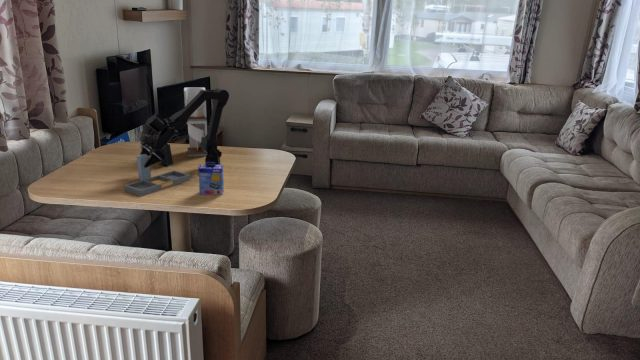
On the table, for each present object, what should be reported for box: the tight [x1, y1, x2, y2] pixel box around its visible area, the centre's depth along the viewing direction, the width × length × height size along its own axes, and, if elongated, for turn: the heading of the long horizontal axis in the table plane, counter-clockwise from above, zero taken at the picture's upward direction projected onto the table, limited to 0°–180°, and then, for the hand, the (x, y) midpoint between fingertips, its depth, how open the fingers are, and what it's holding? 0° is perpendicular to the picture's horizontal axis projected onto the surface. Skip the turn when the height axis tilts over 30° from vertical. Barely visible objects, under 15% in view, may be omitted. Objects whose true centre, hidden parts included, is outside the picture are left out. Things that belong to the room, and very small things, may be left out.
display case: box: [183, 87, 208, 157], centre depth 264 cm, size 11×11×35 cm
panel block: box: [136, 154, 152, 181], centre depth 225 cm, size 4×5×11 cm
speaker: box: [159, 143, 174, 168], centre depth 248 cm, size 8×6×10 cm
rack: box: [124, 170, 191, 197], centre depth 219 cm, size 27×11×2 cm, turn 148°
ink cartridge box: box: [198, 162, 225, 196], centre depth 210 cm, size 10×6×14 cm, turn 95°
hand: (141, 164), depth 224 cm, fingers open, 9 cm apart
